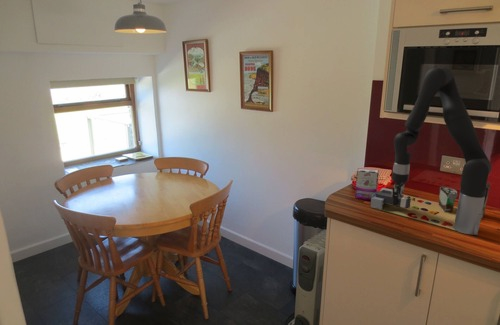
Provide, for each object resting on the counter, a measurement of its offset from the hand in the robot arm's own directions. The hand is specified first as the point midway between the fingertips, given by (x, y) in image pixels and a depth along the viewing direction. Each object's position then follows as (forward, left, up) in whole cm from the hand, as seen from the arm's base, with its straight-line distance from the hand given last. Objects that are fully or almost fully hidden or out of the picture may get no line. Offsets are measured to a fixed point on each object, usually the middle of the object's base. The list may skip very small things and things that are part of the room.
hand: (396, 203), depth 172 cm
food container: (-21, -16, -3) cm, 27 cm away
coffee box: (-33, -16, -3) cm, 37 cm away
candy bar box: (+18, -5, -3) cm, 19 cm away
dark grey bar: (+2, 0, 0) cm, 2 cm away
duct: (+9, -4, -3) cm, 11 cm away
